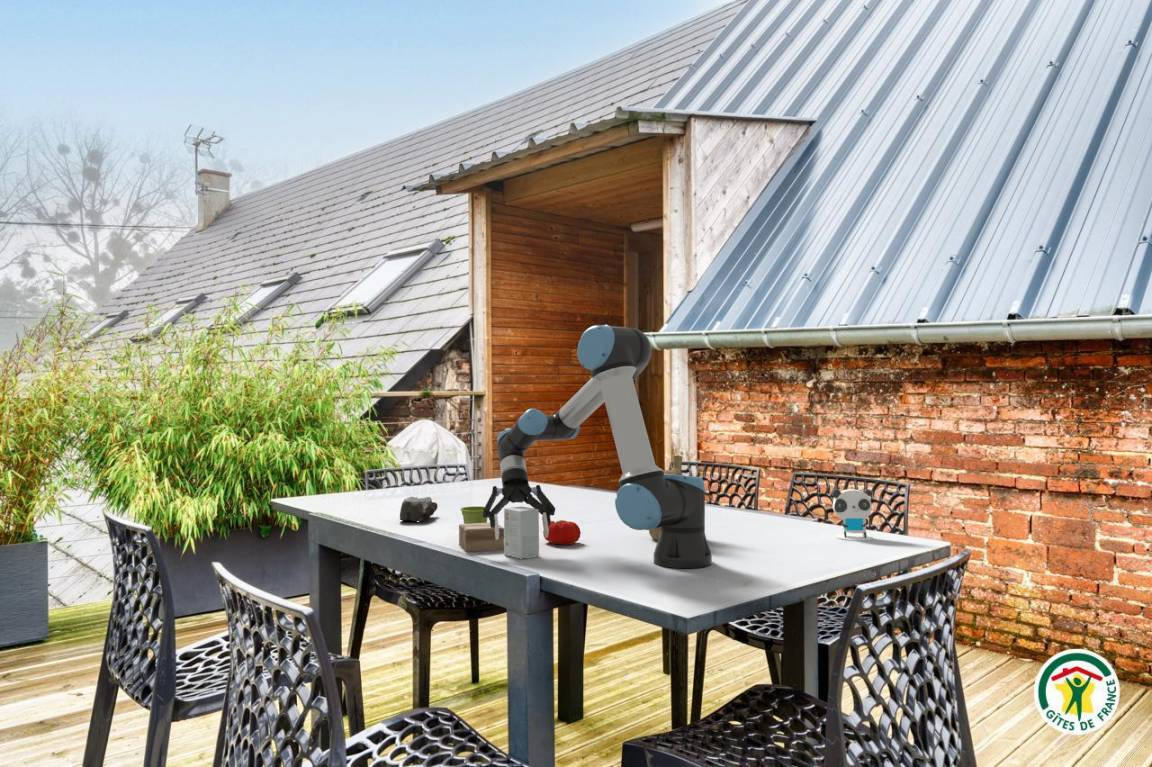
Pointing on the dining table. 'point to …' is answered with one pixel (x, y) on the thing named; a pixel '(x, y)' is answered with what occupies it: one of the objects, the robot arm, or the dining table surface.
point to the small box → (521, 532)
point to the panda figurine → (852, 513)
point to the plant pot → (473, 515)
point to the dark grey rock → (417, 508)
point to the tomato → (563, 532)
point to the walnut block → (480, 537)
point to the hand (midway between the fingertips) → (522, 535)
